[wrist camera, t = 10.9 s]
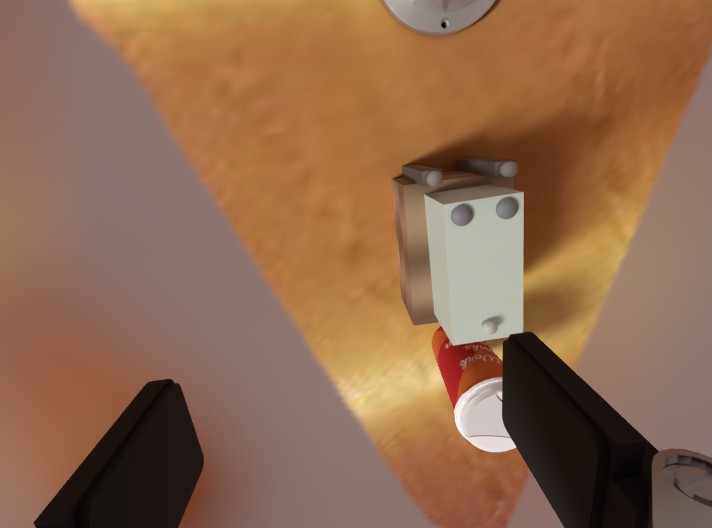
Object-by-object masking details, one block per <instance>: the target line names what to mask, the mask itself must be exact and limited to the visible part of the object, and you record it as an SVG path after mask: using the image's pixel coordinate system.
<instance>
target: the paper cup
mask: <svg viewBox="0 0 712 528" xmlns="http://www.w3.org/2000/svg"><path fill="white" fill-rule="evenodd" d="M432 347H433V351H434V354H435V357H436V360H437V363H438V366H439V369H440V372H441V375H442V377H443V380H444V383H445V386H446V388H447V391H448V394H449V397H450V400H451V402H452V405H453V408H454V413H455V422H456V426H457V428H458V430H459V432H460V433H461V434H462V435H463V436H464V437H465V438H466V439H467V440H469V441H470V442H471V443H472V444H473V445H474V446H476V447H478V448H479V449H482V450H484V451H489V452H503V451H508V450H511V449H514V448H516V446H515V444H514V442H513V441H512V439H511V437H510V436H509V434H508V432H507V431H506V429H505V426H504V424H503V420H502V372H503V362H502V361H501V360H500V359H499V358H498V356H497V355H496V354H495V353H494V352H493V351H492V350H491V349H490V348H489V347H488V345H487V344H486V343H485V342H484V341H479V342H473V343H466V344H460V345H454V346H453V345H452V343H451V342H450V340H449V338H448V336H447V335H446V333H445V331H444V330H443V328H442V326H441V327H440V328H439V329H438V330H437V331H436V332H435V334H434V336H433V339H432Z"/></svg>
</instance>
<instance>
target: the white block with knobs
mask: <svg viewBox="0 0 712 528" xmlns="http://www.w3.org/2000/svg"><path fill="white" fill-rule="evenodd" d="M424 198H425V209H426V221H427V233H428V245H429V257H430V268H431V280H432V292H433V304H434V314H435V316H436V318H437V319H438V321H439V323H440V324H441V326H442V328H443V330H444V331H445V333H446V335H447V336H448V338H449V340H450V342H451V343H452V345H453V346H454V345H460V344H466V343H473V342H479V341H486V340H492V339H498V338H505V337H509V335H511V334H516V333H523V240H524V192H521V191H517V190H513V189H509V188H504V187H500V186H496V185H492V184H488V185H482V186H475V187H469V188H462V189H456V190H449V191H443V192H437V193H430V194H424Z"/></svg>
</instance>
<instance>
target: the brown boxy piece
mask: <svg viewBox="0 0 712 528" xmlns="http://www.w3.org/2000/svg"><path fill="white" fill-rule="evenodd" d="M402 172H403V178H395V179H392V187H393V199H394V211H395V223H396V235H397V247H398V259H399V270H400V282H401V294H402V299H403V302H404V304H405V306H406V309H407V311H408V313H409V316H410V318H411V320H412V323H413V325H421V324H428V323H436V322H439V321H438V319H437V318H436V316H435V314H434V304H433V292H432V280H431V268H430V257H429V245H428V233H427V221H426V209H425V198H424V194H430V193H437V192H443V191H449V190H456V189H462V188H469V187H475V186H482V185H488V184H492V185H496V186H500V187H504V188H509V189H513V190H514V176H515V175H516V174H517V172H518V165H517V164H516V163H515V160H506V159H491V158H477V157H470V158H462V159H458V171H451V172H443V173H442V169H438V168H433V167H428V166H423V165H419V164H414V165H406V166H402Z"/></svg>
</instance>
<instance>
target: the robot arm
mask: <svg viewBox="0 0 712 528" xmlns="http://www.w3.org/2000/svg"><path fill="white" fill-rule="evenodd" d="M381 1H382V2H383V4H384V5H385V7H386V8H387V10H388V11H389V13H390V14H391V15H392V16H393V17H394V18H395V19H396V20H397V21H398V22H399V23H400V24H402V25H403V26H405V27H406V28H408V29H409V30H411V31H414V32H417V33H419V34H422V35H428V36H447V35H450V34H454V33H457V32H460V31H462V30H463V29H465V28H467V27H469V26H471V25H472V24H473V23H474V22H476V21H477V20H478V19H479V18H481V17H482V16H483V15H484V14H485V13H486V12H487V11H488V10H489V9H490V7H491V6H492V5H493V3H494V2H495V1H496V0H381ZM442 23H443V24H445V28H442V26H441V24H442ZM502 420H503V424H504V426H505V429H506V431H507V432H508V434H509V436H510V437H511V439H512V441H513V442H514V444H515V446H516V447H517V449H518V451H519V452H520V454H521V456H522V457H523V459H524V461H525V462H526V464H527V466H528V467H529V469H530V471H531V472H532V474H533V476H534V477H535V479H536V481H537V482H538V484H539V486H540V487H541V489H542V491H543V492H544V494H545V496H546V497H547V499H548V501H549V502H550V504H551V506H552V507H553V509H554V511H555V512H556V514H557V516H558V518H559V519H560V521H561V523H562V524H563V526H564V527H565V528H712V458H711V457H708V456H705V455H703V454H700V453H697V452H693V451H689V450H684V449H667V450H662V451H660V452H659V451H658V450H657V449H656V448H655V447H654V446H653V445H651V444H650V443H649V442H648V441H647V440H646V439H645V438H644V437H643V436H642V435H641V434H640V433H639V432H638V431H637V430H636V429H635V428H633V427H632V426H631V425H630V424H629V423H628V422H627V421H626V420H625V419H624V418H623V417H621V415H619V413H618V412H617V411H615V410H614V409H613V408H612V407H611V406H610V405H609V404H608V403H607V402H606V401H605V400H604V399H603V398H602V397H601V396H600V395H599V394H598V393H596V392H595V391H594V390H593V389H592V388H591V387H590V386H589V385H588V384H587V383H586V382H585V381H583V379H581V378H580V377H579V376H578V375H577V374H576V373H575V372H574V371H573V370H572V369H571V368H570V367H569V366H568V365H566V364H565V363H564V362H563V361H562V360H561V359H560V358H559V357H558V356H557V355H556V354H555V353H554V352H553V351H552V350H551V349H550V348H548V347H547V346H546V345H545V344H544V343H543V342H542V341H541V340H540V339H539V338H538V337H537V336H536V335H535V334H534V333H532V332H524V333H516V334H511V335H509V338H508V340H505V341H504V342H503V372H502ZM203 464H204V457H203V453H202V450H201V447H200V444H199V441H198V438H197V435H196V432H195V429H194V425H193V422H192V419H191V416H190V413H189V410H188V407H187V404H186V402H185V399H184V395H183V392H182V389H181V387H180V385H179V384H178V383H174V381H173V380H171V379H165V380H157V381H151V382H148V383H147V384H146V385H145V386H144V387H143V388H142V390H141V391H140V392H139V393H138V394H137V396H136V397H135V398H134V400H133V401H132V402H131V403H130V404H129V406H128V407H127V408H126V410H125V411H124V412H123V413H122V414H121V416H120V417H119V418H118V419H117V420H116V422H115V423H114V424H113V425H112V427H111V428H110V429H109V430H108V432H107V433H106V434H105V435H104V436H103V438H102V439H101V440H100V441H99V443H98V444H97V445H96V446H95V448H94V449H93V450H92V451H91V452H90V454H89V455H88V456H87V457H86V459H85V460H84V461H83V462H82V464H81V465H80V466H79V467H78V469H77V470H76V471H75V472H74V473H73V475H72V476H71V477H70V478H69V480H68V481H67V482H66V484H65V485H64V486H63V487H62V488H61V490H60V491H59V492H58V493H57V495H56V496H55V497H54V498H53V499H52V501H51V502H50V503H49V504H48V505H47V507H46V508H45V509H44V510H43V512H42V513H41V514H40V515H39V517H38V518H37V519H36V520H35V522H34V525H35V527H36V528H178V526H179V524H180V522H181V519H182V517H183V515H184V512H185V510H186V507H187V505H188V502H189V500H190V498H191V495H192V493H193V491H194V488H195V486H196V483H197V481H198V479H199V476H200V474H201V472H202V469H203Z"/></svg>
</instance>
